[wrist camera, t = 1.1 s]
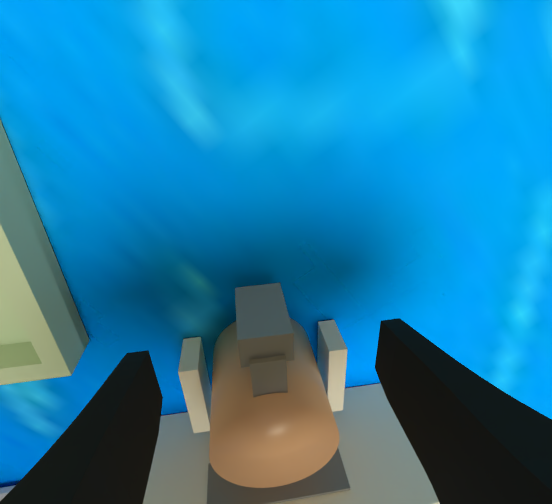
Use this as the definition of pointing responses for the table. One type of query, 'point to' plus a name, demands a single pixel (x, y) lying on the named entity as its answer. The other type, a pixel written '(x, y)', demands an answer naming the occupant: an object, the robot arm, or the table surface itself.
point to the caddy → (267, 396)
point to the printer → (315, 488)
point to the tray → (31, 289)
